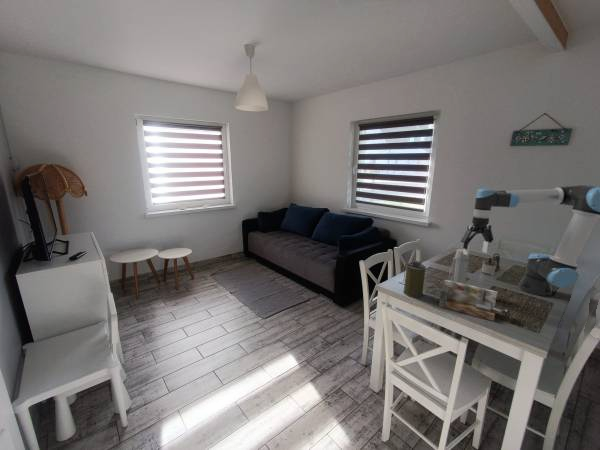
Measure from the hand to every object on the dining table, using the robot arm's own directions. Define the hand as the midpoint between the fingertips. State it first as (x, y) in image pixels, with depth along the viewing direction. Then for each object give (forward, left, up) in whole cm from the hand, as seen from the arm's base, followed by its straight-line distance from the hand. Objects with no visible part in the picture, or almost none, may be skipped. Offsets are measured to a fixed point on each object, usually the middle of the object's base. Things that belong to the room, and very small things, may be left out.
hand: (475, 253), depth 151 cm
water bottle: (+7, -1, -25) cm, 26 cm away
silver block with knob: (-11, +22, -23) cm, 33 cm away
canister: (+27, +20, -25) cm, 42 cm away
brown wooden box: (0, +22, -25) cm, 33 cm away
